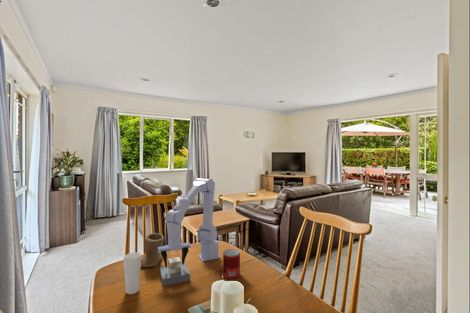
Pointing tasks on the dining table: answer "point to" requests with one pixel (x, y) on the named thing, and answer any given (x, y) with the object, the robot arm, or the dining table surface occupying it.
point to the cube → (174, 265)
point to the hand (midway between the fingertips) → (174, 265)
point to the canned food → (231, 263)
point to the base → (174, 275)
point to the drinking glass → (132, 272)
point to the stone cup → (152, 250)
